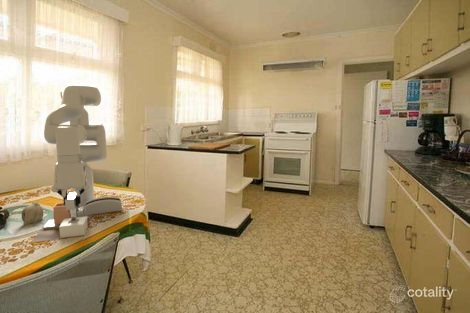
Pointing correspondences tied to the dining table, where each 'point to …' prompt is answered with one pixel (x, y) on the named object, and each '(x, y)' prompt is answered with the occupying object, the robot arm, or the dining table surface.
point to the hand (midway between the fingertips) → (72, 205)
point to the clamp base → (50, 224)
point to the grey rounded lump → (32, 213)
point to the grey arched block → (103, 205)
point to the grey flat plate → (51, 234)
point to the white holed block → (73, 227)
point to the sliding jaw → (60, 213)
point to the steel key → (71, 205)
